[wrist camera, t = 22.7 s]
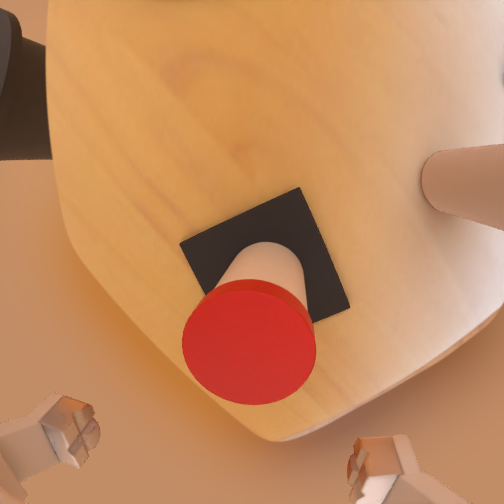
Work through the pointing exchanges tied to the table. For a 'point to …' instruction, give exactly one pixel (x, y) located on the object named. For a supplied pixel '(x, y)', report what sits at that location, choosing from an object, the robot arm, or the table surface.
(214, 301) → the container
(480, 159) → the beverage can
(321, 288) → the mat
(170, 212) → the table surface
